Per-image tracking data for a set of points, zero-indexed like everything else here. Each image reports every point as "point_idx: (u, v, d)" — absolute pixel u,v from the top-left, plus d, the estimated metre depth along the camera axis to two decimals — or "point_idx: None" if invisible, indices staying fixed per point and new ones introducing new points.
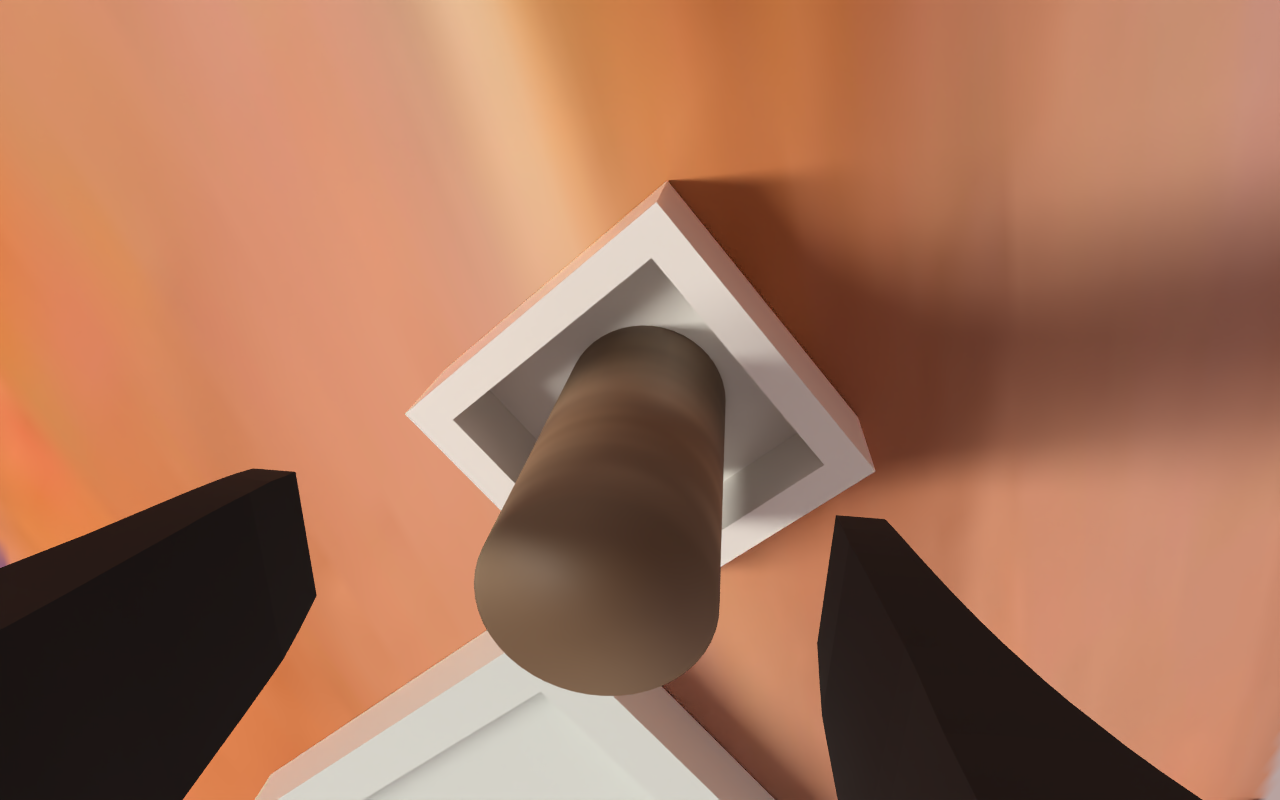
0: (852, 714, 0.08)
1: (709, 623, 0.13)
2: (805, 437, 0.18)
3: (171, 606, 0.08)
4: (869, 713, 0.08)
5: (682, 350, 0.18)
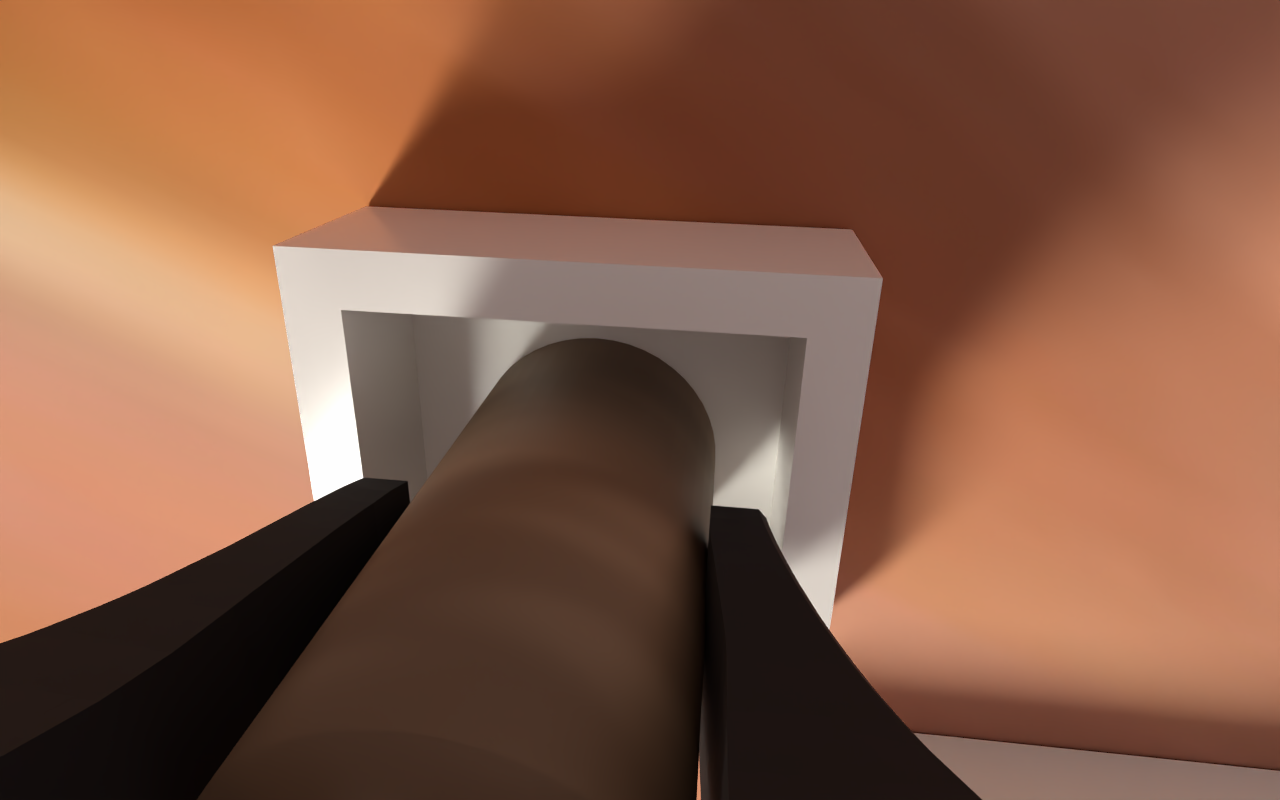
0: (707, 699, 0.09)
1: None
2: (742, 329, 0.10)
3: (310, 620, 0.08)
4: (712, 697, 0.08)
5: (538, 366, 0.12)
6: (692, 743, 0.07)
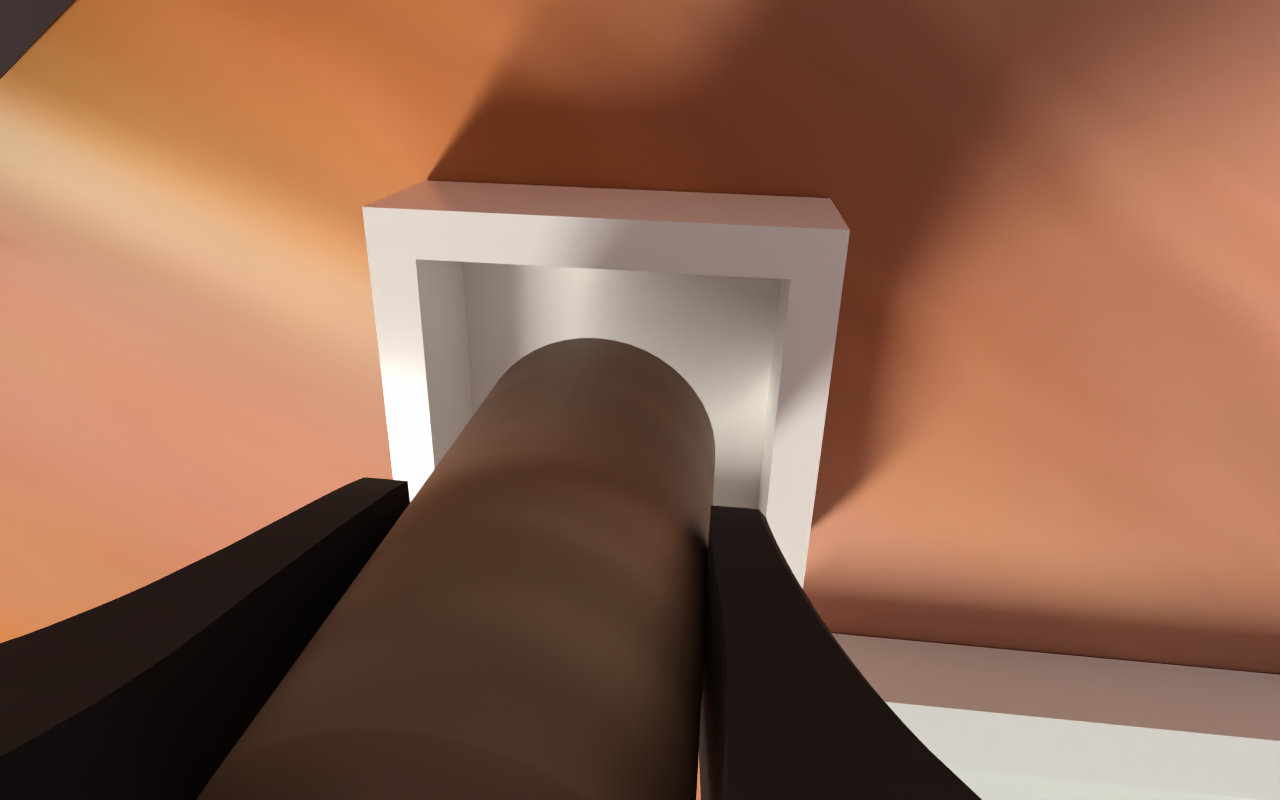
0: (707, 699, 0.09)
1: None
2: (739, 272, 0.12)
3: (310, 620, 0.08)
4: (712, 697, 0.08)
5: (538, 365, 0.12)
6: (692, 742, 0.07)
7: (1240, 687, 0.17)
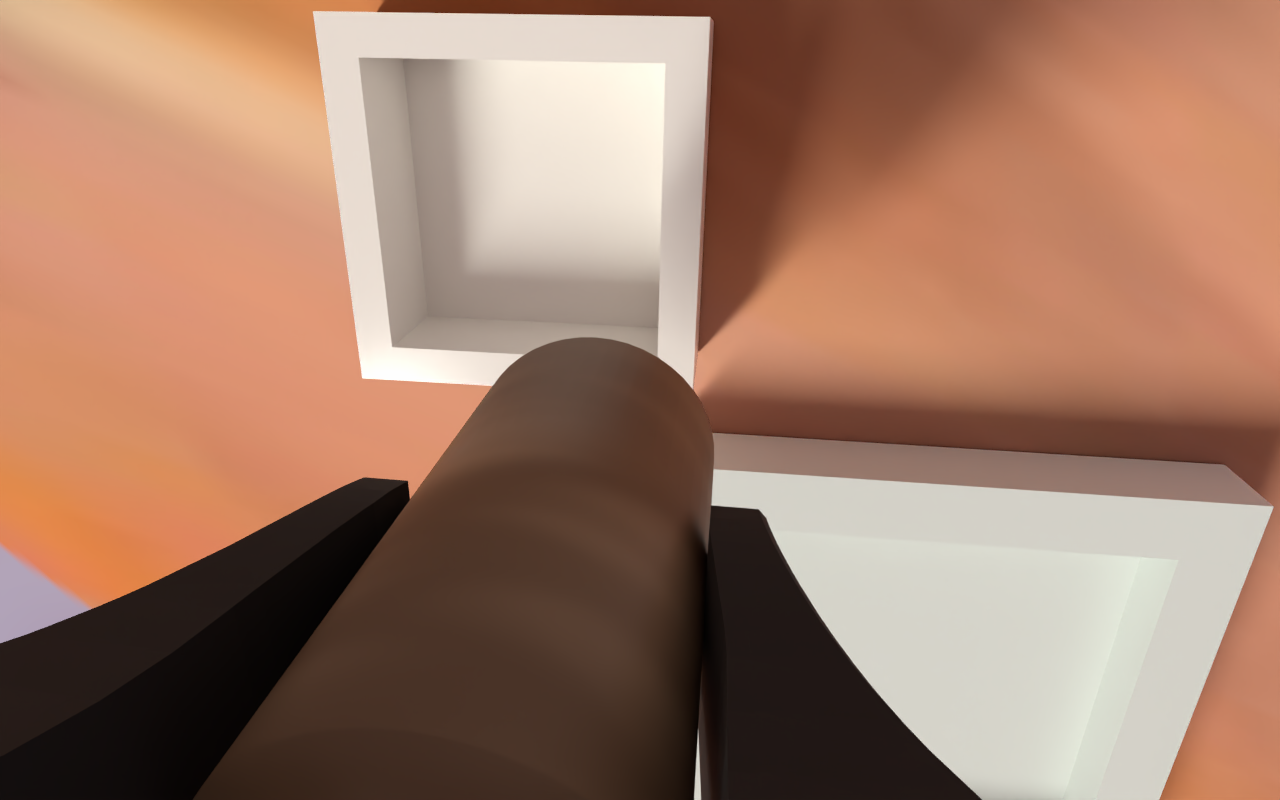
0: (706, 699, 0.09)
1: None
2: (623, 59, 0.15)
3: (310, 620, 0.08)
4: (712, 697, 0.08)
5: (536, 365, 0.12)
6: (690, 742, 0.07)
7: (1089, 465, 0.20)
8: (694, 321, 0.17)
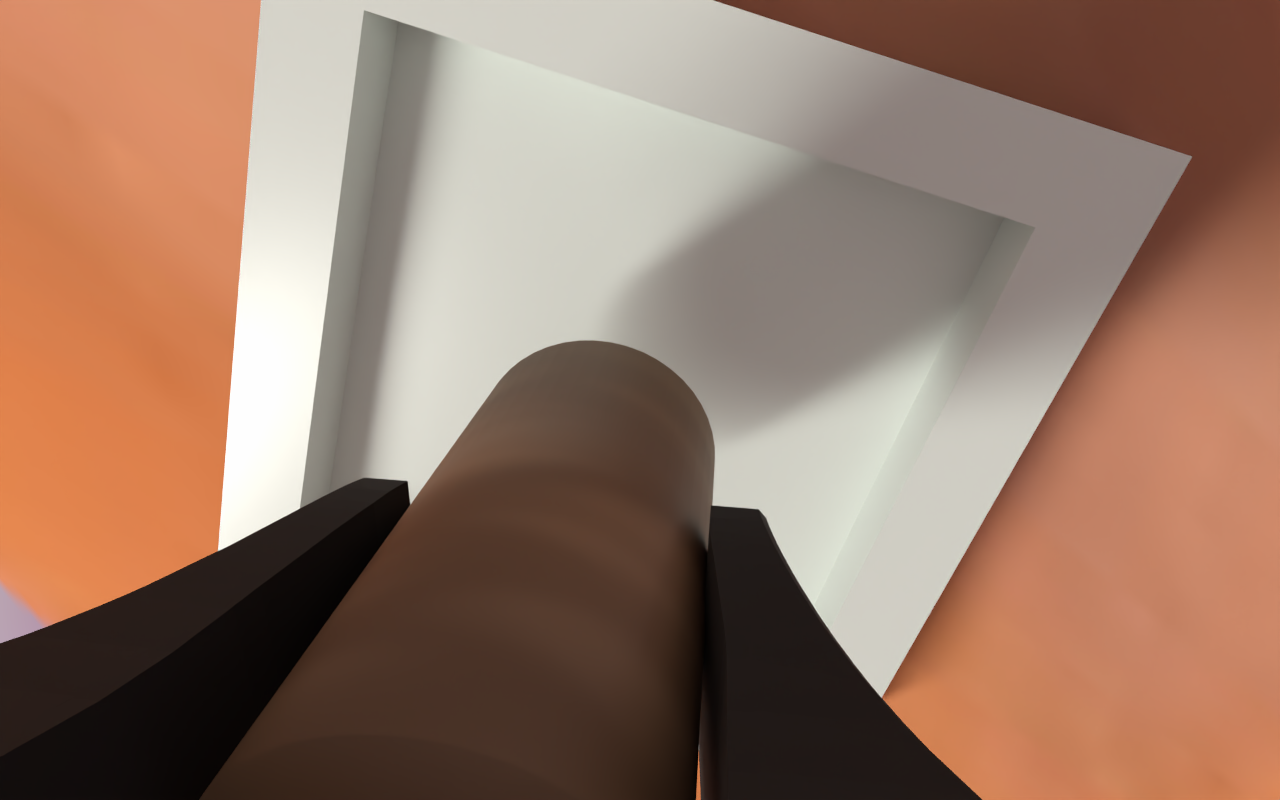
0: (707, 699, 0.09)
1: None
2: None
3: (310, 620, 0.08)
4: (712, 697, 0.08)
5: (536, 368, 0.12)
6: (691, 745, 0.07)
7: None
8: None
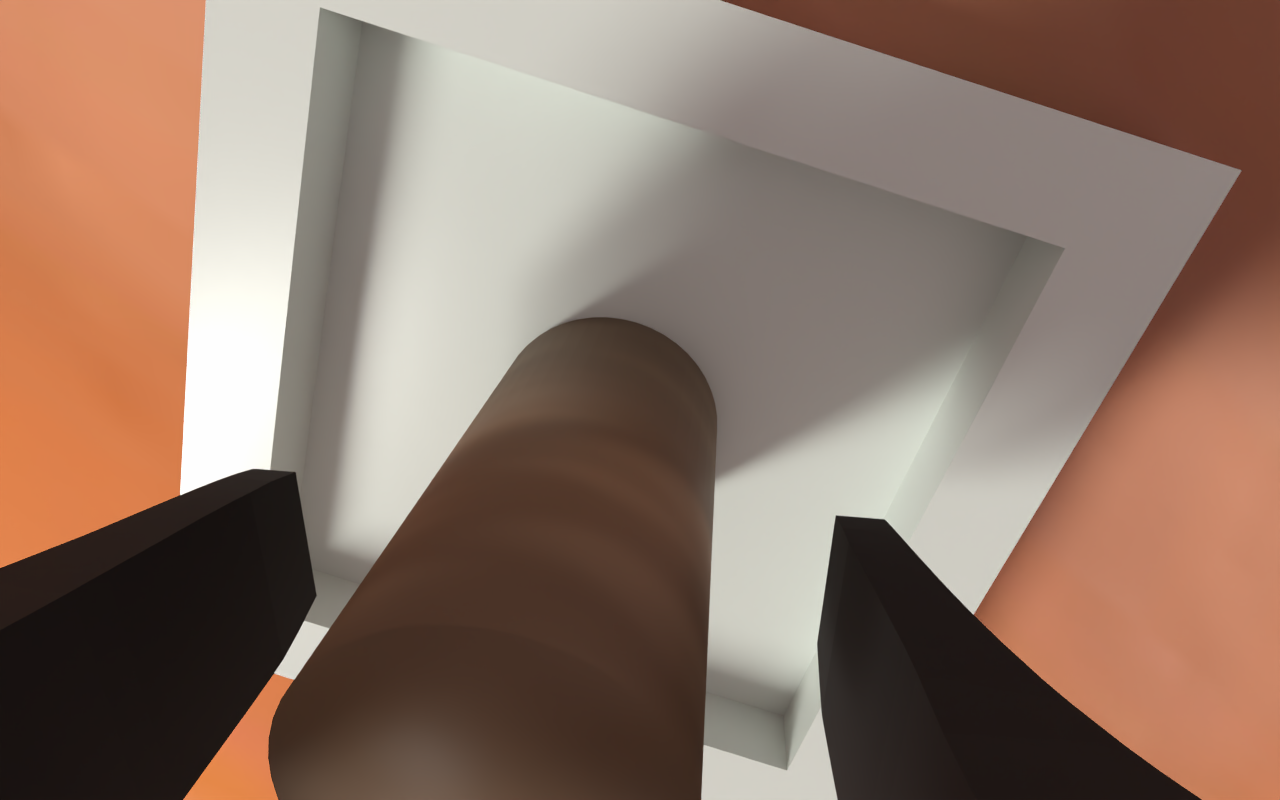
0: (852, 714, 0.08)
1: (635, 714, 0.07)
2: None
3: (172, 606, 0.08)
4: (869, 713, 0.08)
5: (554, 342, 0.13)
6: (701, 656, 0.08)
7: None
8: None
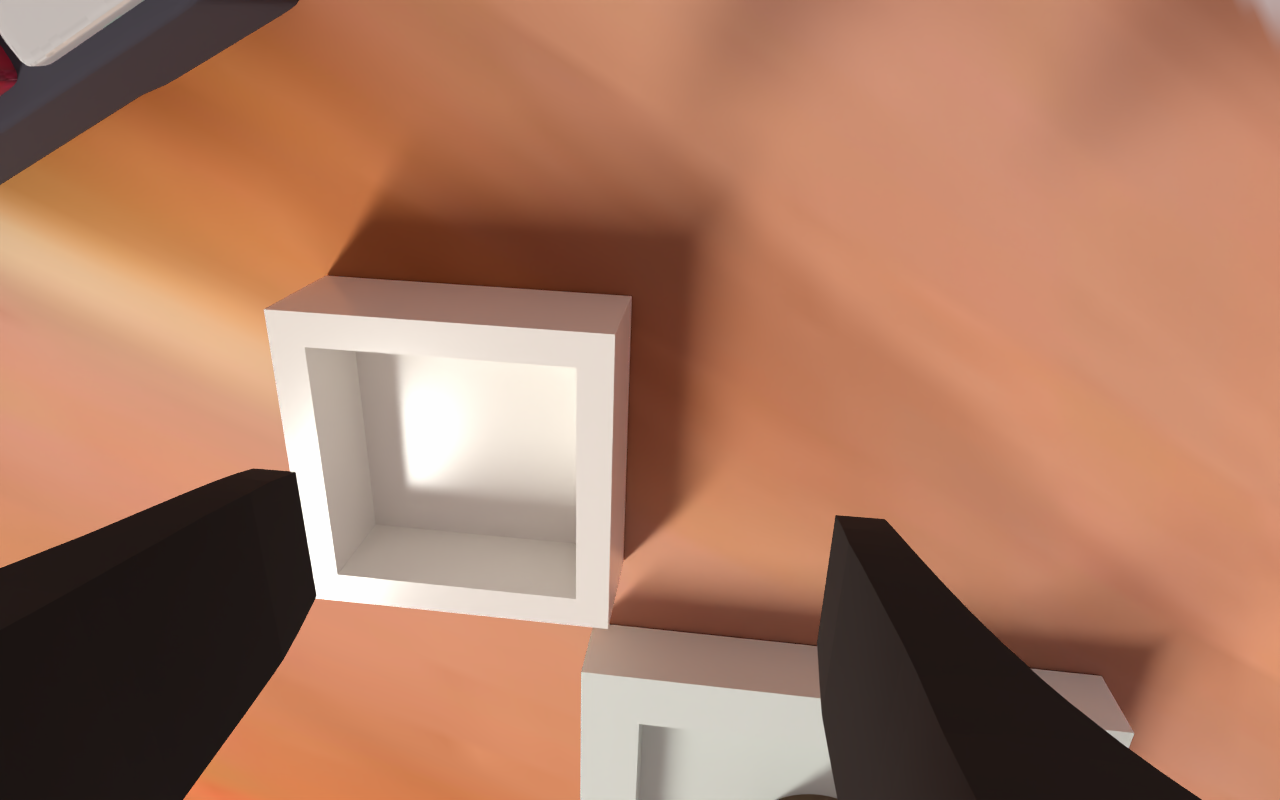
0: (852, 714, 0.08)
1: None
2: (539, 362, 0.17)
3: (172, 606, 0.08)
4: (869, 713, 0.08)
5: None
6: None
7: None
8: (608, 569, 0.19)
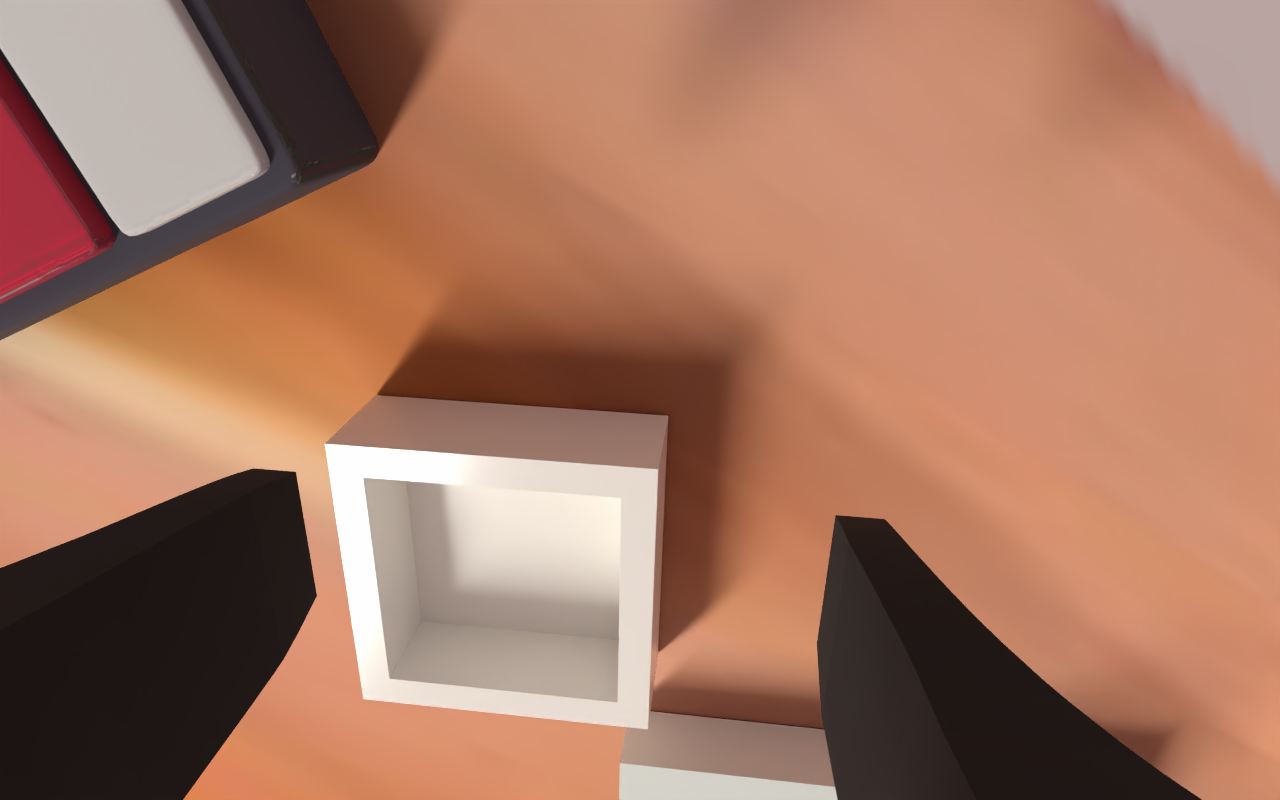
0: (852, 714, 0.08)
1: None
2: (585, 492, 0.18)
3: (172, 606, 0.08)
4: (869, 713, 0.08)
5: None
6: None
7: None
8: (648, 676, 0.20)
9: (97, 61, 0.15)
